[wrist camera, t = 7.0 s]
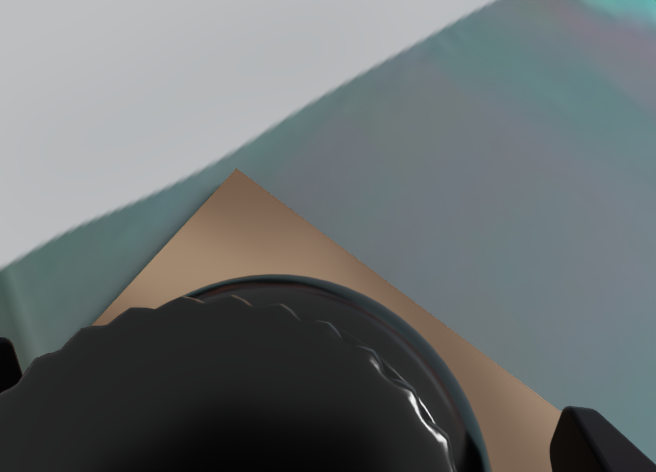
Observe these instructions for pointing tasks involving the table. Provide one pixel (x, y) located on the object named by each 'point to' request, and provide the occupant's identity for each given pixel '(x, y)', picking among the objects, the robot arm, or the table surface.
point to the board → (344, 269)
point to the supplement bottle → (244, 389)
